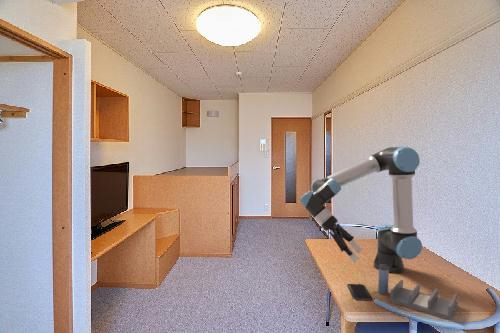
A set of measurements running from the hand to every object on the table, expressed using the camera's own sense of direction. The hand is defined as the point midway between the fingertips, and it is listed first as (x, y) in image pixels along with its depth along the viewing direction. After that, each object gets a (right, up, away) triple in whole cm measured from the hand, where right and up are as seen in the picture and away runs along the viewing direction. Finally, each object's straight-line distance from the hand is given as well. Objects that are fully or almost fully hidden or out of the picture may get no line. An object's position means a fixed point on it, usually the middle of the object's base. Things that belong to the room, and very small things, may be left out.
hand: (358, 256), depth 145 cm
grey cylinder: (+9, -15, -4) cm, 18 cm away
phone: (-1, -15, -4) cm, 16 cm away
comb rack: (+22, -16, -14) cm, 30 cm away
